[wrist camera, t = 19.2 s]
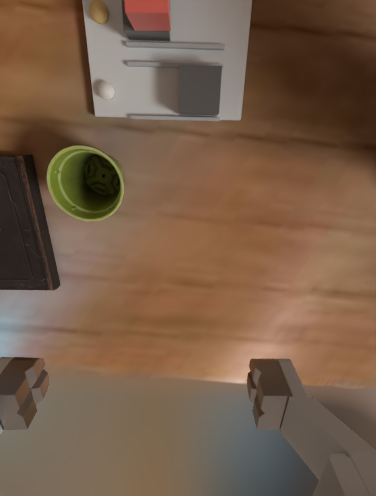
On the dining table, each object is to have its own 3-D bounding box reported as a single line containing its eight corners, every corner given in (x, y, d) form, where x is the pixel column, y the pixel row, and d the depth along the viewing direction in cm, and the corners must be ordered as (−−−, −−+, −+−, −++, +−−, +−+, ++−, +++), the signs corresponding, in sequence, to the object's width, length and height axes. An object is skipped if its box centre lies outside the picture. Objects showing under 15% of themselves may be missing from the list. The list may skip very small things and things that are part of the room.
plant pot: (80, 131, 38) (53, 132, 30) (142, 156, 39) (132, 163, 31) (68, 191, 41) (41, 206, 34) (126, 212, 43) (112, 231, 35)
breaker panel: (250, -11, 32) (256, -21, 29) (238, 122, 37) (242, 121, 35) (84, -17, 31) (76, -28, 29) (98, 118, 37) (93, 117, 35)
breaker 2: (218, 71, 33) (222, 65, 30) (216, 115, 35) (218, 114, 32) (179, 70, 33) (179, 64, 30) (179, 114, 35) (178, 113, 32)
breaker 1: (169, -16, 30) (168, -32, 27) (170, 41, 32) (168, 31, 29) (126, -17, 30) (119, -34, 27) (129, 39, 32) (123, 30, 29)
